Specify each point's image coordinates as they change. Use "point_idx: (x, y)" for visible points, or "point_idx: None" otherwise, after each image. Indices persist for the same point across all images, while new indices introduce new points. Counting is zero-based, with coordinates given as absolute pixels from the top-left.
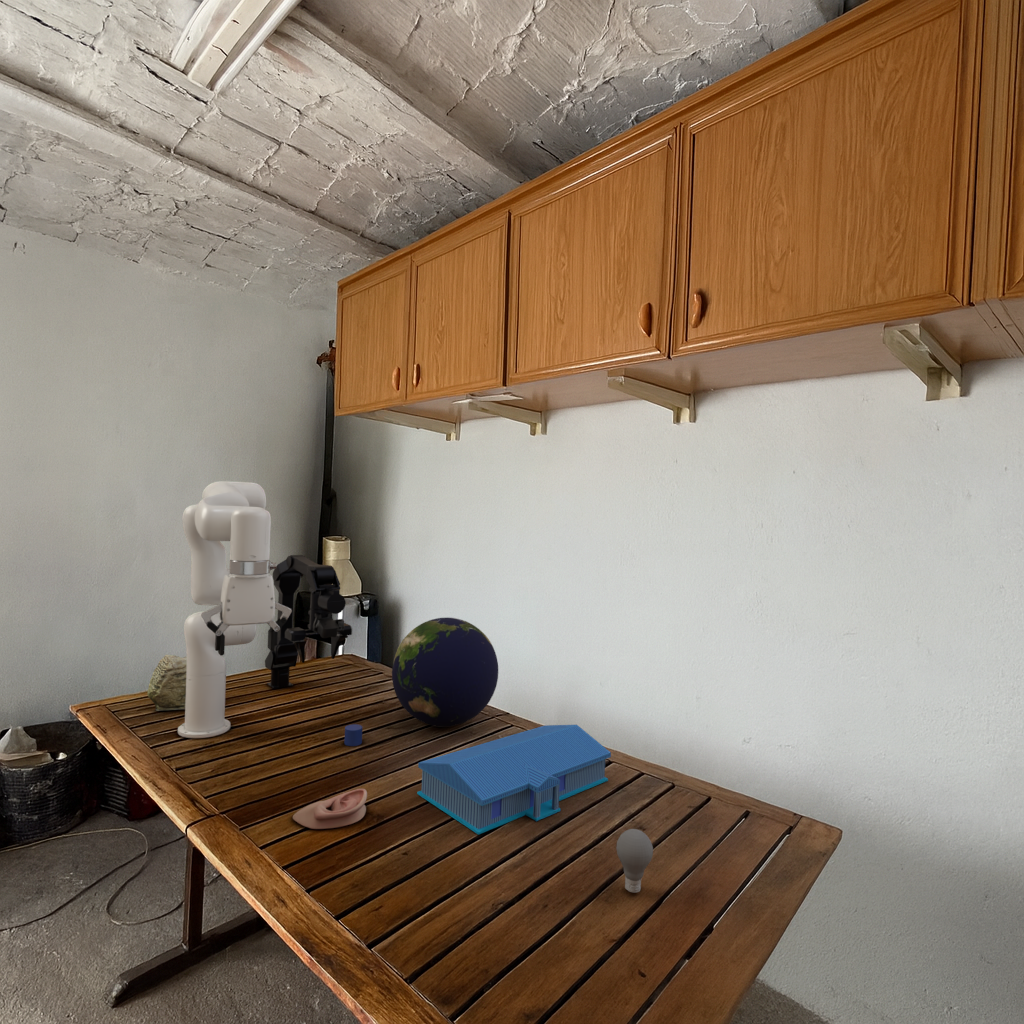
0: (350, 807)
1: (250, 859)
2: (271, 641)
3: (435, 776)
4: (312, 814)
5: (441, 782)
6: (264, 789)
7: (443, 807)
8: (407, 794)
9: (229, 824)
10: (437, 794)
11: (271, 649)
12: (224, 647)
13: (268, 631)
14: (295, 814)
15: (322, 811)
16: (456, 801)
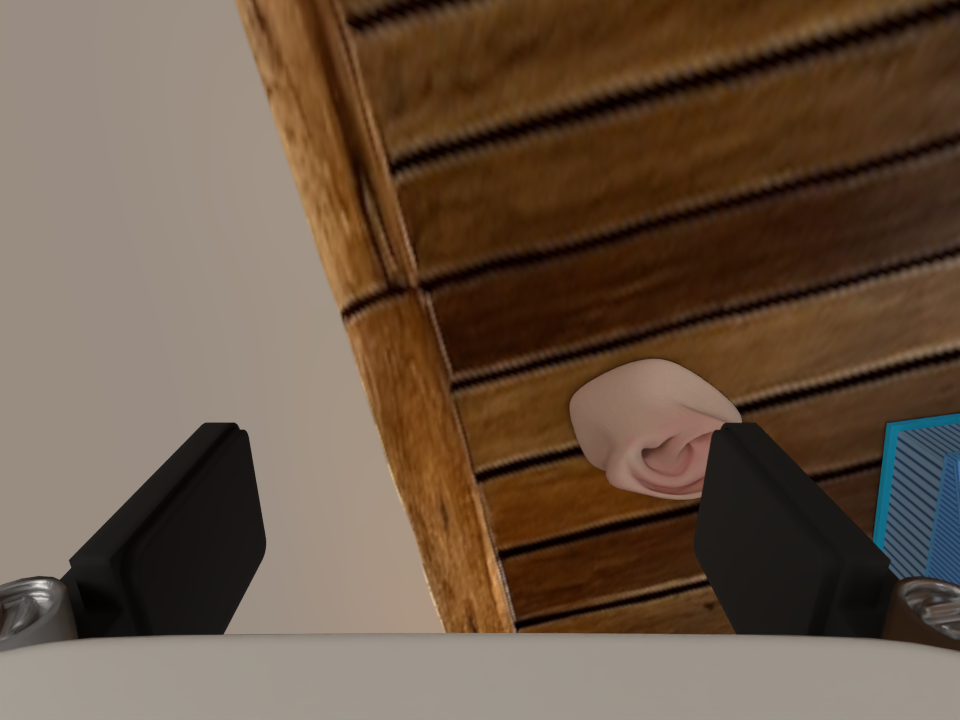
0: (690, 481)
1: (450, 506)
2: (735, 620)
3: (935, 528)
4: (607, 445)
5: (929, 539)
6: (554, 195)
7: (884, 517)
8: (867, 407)
9: (432, 354)
10: (904, 504)
11: (702, 558)
12: (238, 605)
13: (810, 565)
14: (578, 404)
15: (625, 473)
16: (903, 575)
